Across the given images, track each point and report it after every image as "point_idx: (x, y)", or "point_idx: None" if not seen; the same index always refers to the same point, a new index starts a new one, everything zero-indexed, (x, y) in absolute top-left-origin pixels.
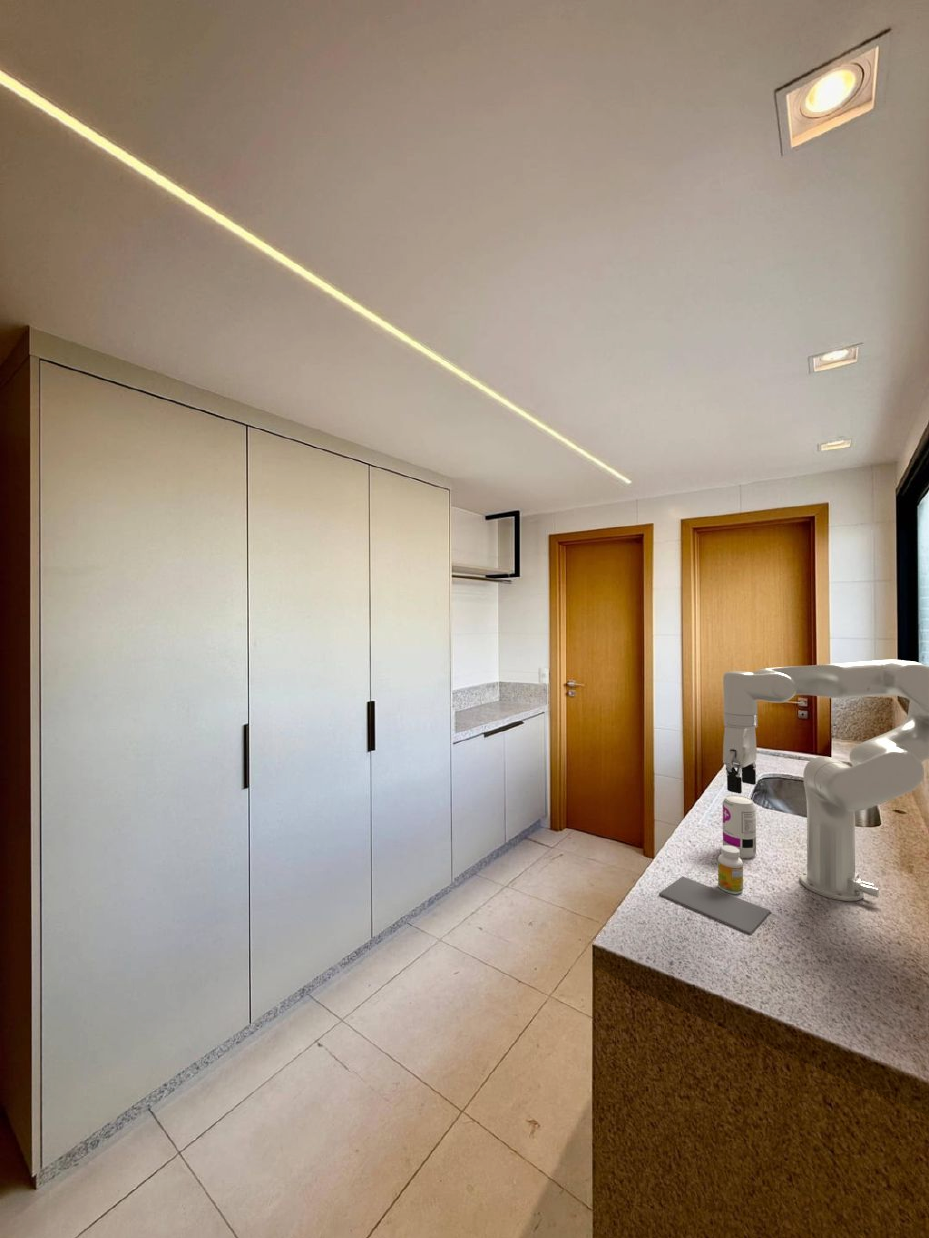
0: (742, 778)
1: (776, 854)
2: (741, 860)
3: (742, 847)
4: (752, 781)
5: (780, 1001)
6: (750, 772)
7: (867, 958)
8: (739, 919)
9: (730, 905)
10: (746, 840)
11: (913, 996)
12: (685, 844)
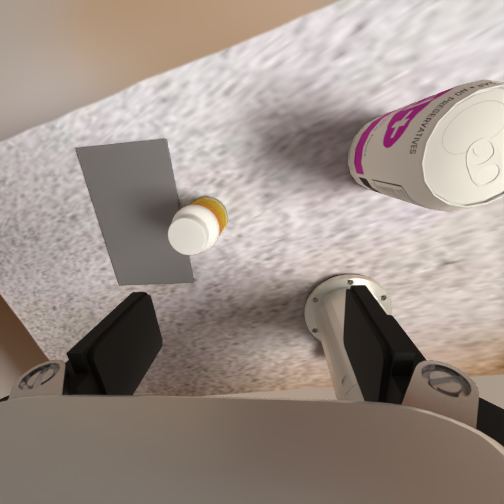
0: (354, 300)
1: (429, 211)
2: (204, 249)
3: (358, 177)
4: (349, 346)
5: (55, 336)
6: (367, 385)
7: (196, 367)
8: (133, 265)
9: (153, 242)
10: (370, 186)
11: (171, 395)
12: (329, 33)
